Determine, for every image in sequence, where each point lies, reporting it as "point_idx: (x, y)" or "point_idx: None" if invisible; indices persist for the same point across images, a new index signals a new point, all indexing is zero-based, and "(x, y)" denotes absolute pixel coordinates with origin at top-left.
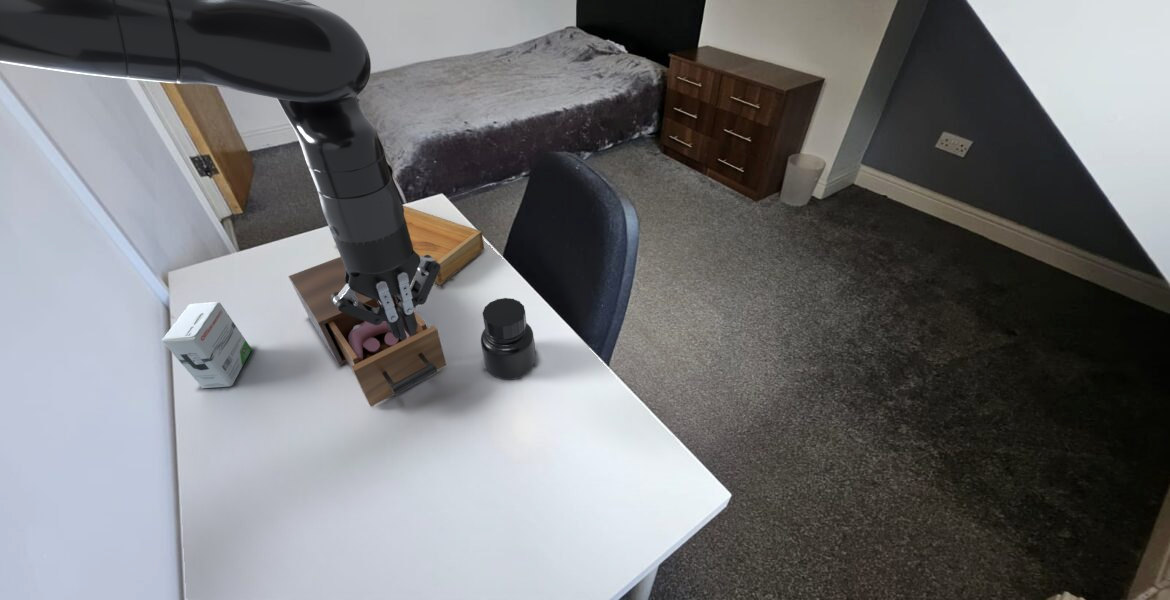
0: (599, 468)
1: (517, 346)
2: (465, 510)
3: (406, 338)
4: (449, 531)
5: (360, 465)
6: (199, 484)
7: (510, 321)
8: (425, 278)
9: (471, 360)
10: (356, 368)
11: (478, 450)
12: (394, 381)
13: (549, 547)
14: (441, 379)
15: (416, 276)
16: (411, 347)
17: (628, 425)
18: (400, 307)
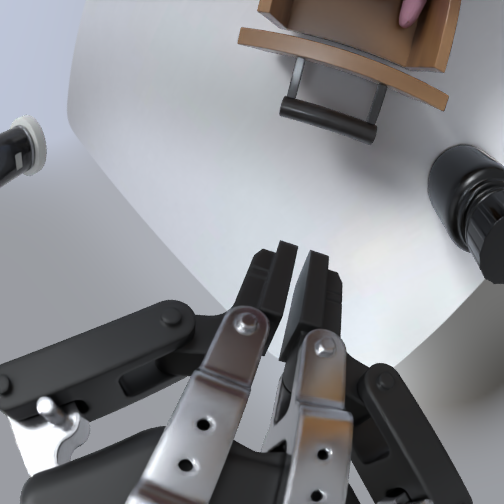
0: (356, 331)
1: (467, 247)
2: (250, 256)
3: (402, 16)
4: (226, 255)
5: (203, 118)
6: (87, 19)
7: (493, 273)
8: (374, 494)
9: (440, 123)
10: (245, 41)
11: (313, 228)
12: (316, 62)
13: None
14: (384, 101)
15: (402, 463)
16: (375, 80)
17: (411, 334)
18: (291, 362)
